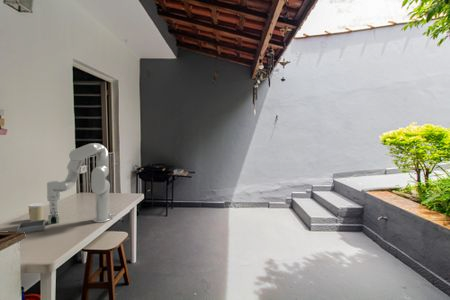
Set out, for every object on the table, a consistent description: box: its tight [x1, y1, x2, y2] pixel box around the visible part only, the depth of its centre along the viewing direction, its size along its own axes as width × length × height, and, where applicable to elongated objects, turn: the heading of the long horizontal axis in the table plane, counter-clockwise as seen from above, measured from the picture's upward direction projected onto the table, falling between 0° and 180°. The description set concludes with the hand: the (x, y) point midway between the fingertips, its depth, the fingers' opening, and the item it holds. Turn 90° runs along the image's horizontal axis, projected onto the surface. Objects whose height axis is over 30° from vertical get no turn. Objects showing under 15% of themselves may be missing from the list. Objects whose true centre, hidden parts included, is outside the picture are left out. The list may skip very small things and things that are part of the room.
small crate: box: [47, 213, 60, 225], centre depth 177 cm, size 6×6×5 cm
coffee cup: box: [28, 202, 45, 222], centre depth 180 cm, size 9×9×12 cm
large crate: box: [16, 219, 46, 234], centre depth 163 cm, size 14×14×4 cm
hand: (53, 221), depth 177 cm, fingers closed on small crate, 6 cm apart
